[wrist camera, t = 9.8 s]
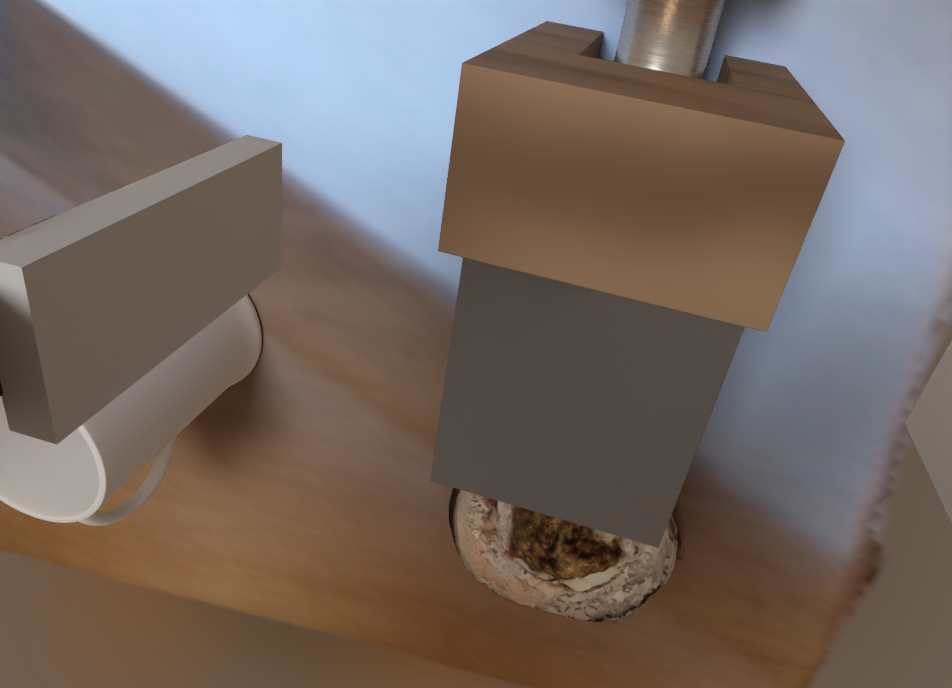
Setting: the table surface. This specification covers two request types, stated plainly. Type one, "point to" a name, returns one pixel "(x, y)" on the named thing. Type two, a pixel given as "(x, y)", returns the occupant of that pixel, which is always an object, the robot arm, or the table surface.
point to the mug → (128, 429)
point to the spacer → (636, 174)
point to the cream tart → (558, 559)
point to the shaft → (669, 35)
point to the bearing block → (576, 399)
